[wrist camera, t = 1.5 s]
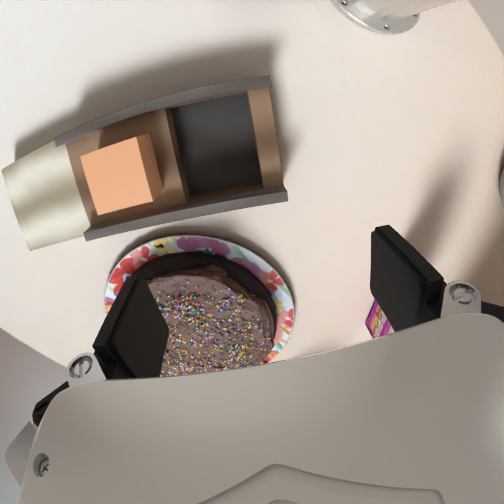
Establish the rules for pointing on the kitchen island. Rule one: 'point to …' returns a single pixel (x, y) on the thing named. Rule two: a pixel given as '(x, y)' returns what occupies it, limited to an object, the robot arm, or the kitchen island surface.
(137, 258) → the chocolate cake
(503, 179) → the coffee pot
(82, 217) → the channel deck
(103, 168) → the block
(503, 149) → the kitchen island surface
